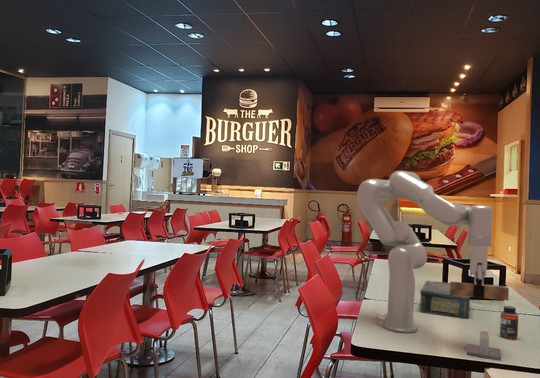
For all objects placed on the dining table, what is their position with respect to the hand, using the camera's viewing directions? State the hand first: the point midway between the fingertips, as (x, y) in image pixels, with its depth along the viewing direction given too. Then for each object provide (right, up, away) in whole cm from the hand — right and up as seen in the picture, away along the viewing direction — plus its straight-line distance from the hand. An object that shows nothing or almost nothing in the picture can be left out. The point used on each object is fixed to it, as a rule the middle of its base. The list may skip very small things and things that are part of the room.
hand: (478, 295), depth 166 cm
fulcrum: (0, -18, -5) cm, 19 cm away
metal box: (+10, -19, +60) cm, 64 cm away
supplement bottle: (+18, -19, +17) cm, 31 cm away
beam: (0, 0, 0) cm, 0 cm away
